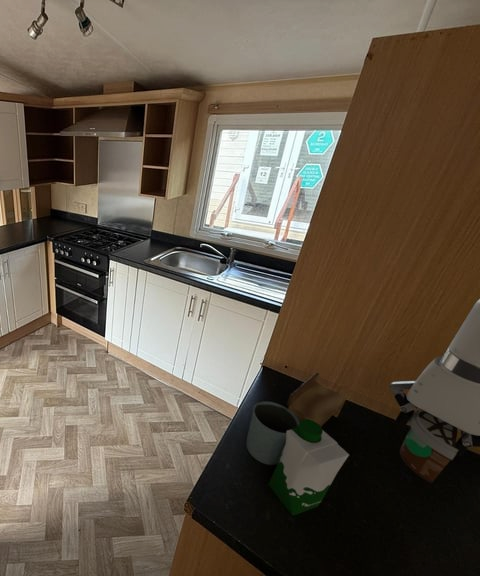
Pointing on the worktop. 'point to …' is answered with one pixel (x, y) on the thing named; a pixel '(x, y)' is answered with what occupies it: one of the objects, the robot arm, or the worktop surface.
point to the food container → (428, 445)
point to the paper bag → (315, 402)
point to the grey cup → (269, 431)
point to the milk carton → (306, 467)
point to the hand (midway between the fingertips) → (425, 439)
